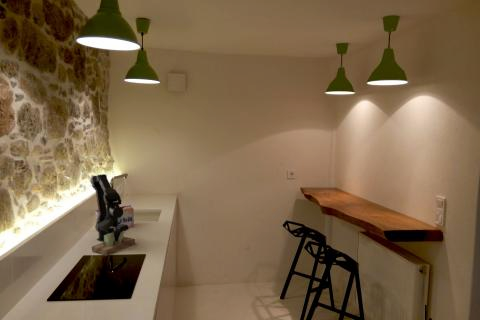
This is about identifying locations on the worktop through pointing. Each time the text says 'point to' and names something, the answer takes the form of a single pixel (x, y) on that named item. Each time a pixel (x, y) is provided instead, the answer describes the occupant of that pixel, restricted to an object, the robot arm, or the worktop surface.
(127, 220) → the gum box
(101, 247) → the brown wooden flat panel
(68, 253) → the worktop surface
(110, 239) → the sage green tapered block
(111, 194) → the robot arm
